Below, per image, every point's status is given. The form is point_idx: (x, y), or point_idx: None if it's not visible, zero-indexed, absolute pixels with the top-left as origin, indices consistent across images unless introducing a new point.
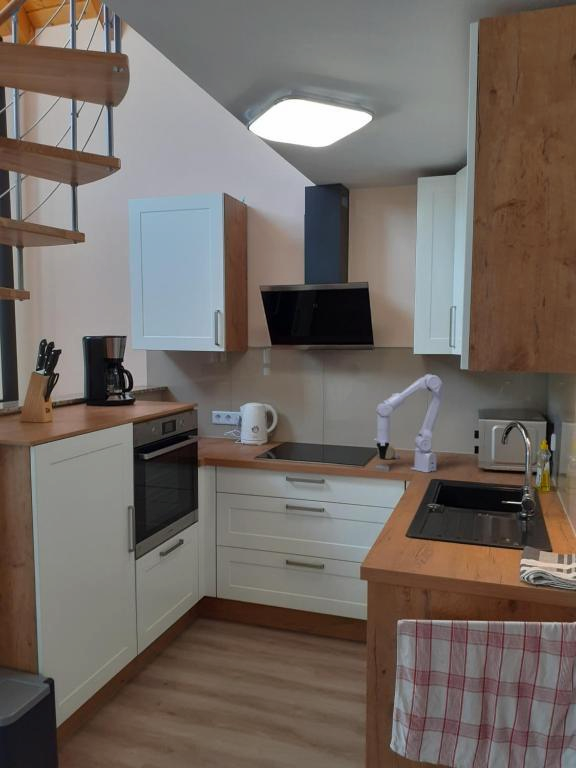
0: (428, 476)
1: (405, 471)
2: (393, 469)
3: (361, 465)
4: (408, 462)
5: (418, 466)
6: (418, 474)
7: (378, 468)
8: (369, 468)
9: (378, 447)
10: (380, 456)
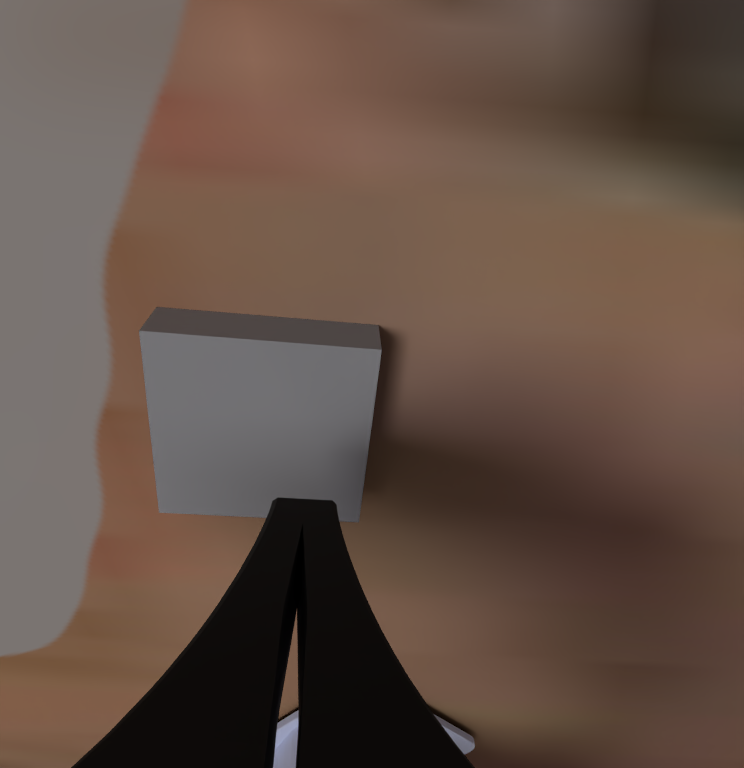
0: (70, 756)
1: None
2: None
3: (639, 70)
4: (722, 672)
5: (292, 764)
6: (129, 707)
7: (147, 373)
8: (360, 219)
9: (101, 751)
10: (261, 540)
